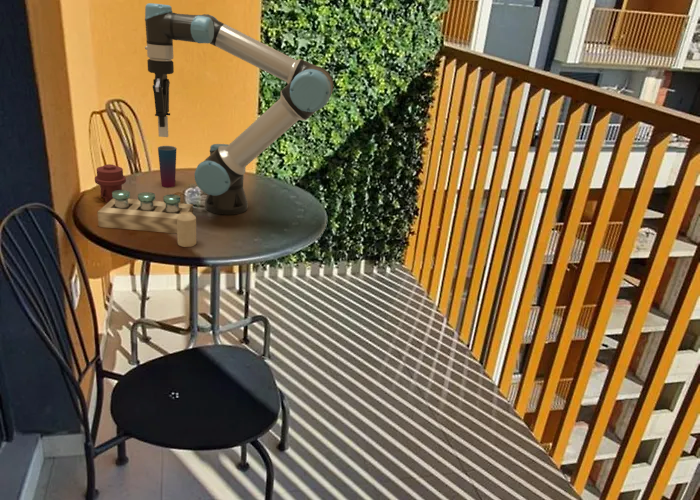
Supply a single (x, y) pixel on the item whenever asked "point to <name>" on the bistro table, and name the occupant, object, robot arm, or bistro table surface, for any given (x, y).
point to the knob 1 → (121, 198)
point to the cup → (167, 165)
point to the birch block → (141, 217)
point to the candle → (186, 229)
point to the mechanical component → (109, 180)
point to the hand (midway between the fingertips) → (163, 136)
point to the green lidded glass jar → (146, 201)
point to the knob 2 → (172, 203)
